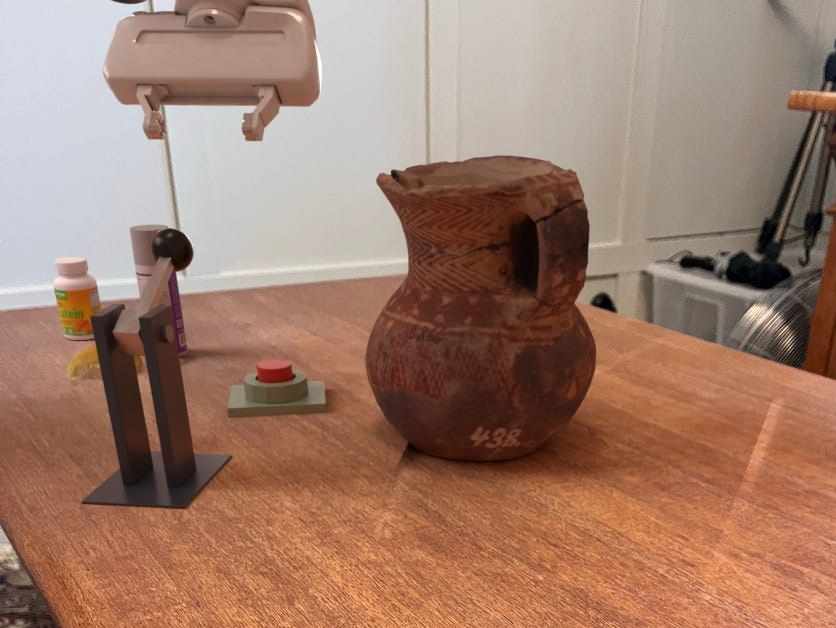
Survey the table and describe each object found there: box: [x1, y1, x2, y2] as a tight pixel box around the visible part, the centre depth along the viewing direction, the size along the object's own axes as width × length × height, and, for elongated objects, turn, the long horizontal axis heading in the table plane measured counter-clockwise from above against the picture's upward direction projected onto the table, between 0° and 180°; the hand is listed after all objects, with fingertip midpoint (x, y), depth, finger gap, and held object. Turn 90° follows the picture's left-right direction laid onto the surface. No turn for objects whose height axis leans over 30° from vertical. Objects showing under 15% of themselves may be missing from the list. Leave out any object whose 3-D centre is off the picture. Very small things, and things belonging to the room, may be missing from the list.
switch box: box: [226, 368, 328, 418], centre depth 107 cm, size 10×8×4 cm
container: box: [129, 224, 189, 358], centre depth 124 cm, size 5×5×15 cm
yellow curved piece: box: [66, 344, 144, 386], centre depth 118 cm, size 8×9×4 cm
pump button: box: [256, 359, 293, 383], centre depth 106 cm, size 4×4×2 cm
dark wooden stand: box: [81, 303, 233, 510], centre depth 86 cm, size 12×9×16 cm
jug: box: [364, 154, 597, 463], centre depth 95 cm, size 22×21×25 cm
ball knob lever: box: [112, 227, 195, 357], centre depth 86 cm, size 14×4×4 cm, turn 173°
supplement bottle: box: [52, 256, 103, 341], centre depth 133 cm, size 5×5×10 cm
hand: (202, 136), depth 94 cm, fingers open, 8 cm apart
